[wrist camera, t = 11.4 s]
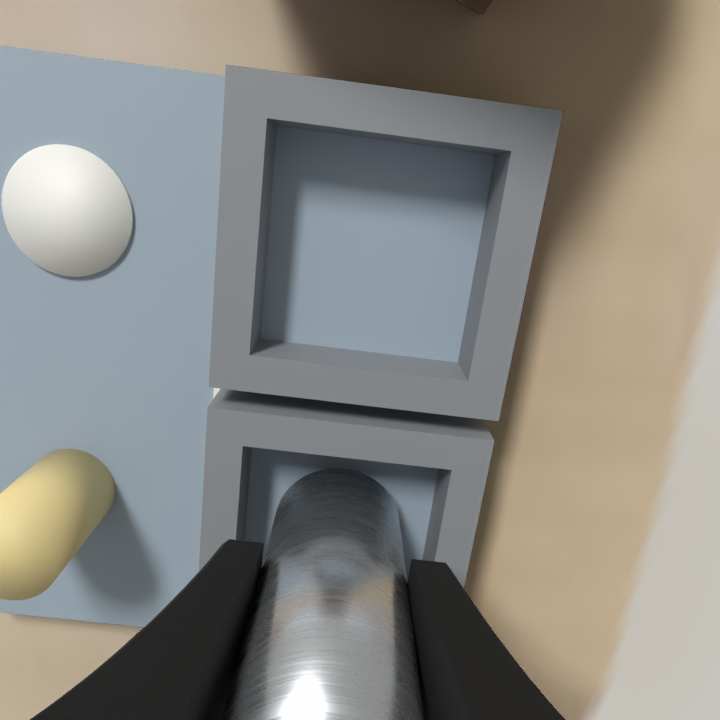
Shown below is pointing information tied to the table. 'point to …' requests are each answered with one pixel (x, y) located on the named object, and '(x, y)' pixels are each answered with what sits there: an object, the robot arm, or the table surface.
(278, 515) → the pin
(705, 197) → the table surface
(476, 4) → the wooden toy block
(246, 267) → the board
